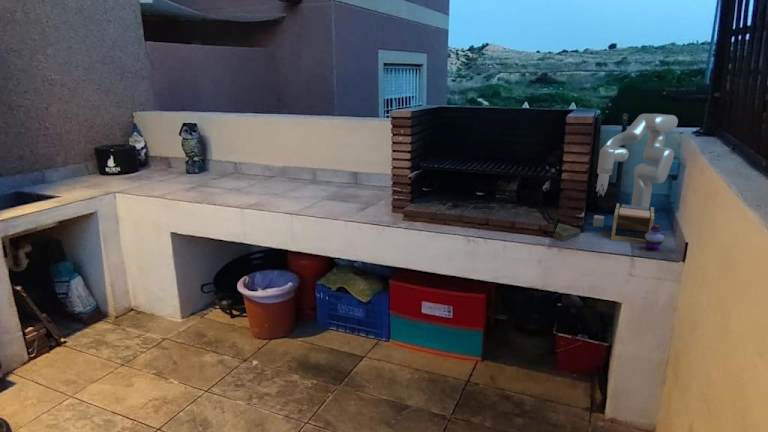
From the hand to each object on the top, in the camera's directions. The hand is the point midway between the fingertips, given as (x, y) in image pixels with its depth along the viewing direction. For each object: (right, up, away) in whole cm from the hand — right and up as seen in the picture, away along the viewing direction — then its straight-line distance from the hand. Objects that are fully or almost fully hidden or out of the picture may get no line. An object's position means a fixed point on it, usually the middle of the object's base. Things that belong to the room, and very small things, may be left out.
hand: (600, 201), depth 276 cm
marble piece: (-26, -19, -12) cm, 34 cm away
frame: (+11, -18, -13) cm, 25 cm away
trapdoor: (+11, -9, -15) cm, 21 cm away
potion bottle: (+11, -24, -32) cm, 42 cm away
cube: (0, -13, +4) cm, 14 cm away
